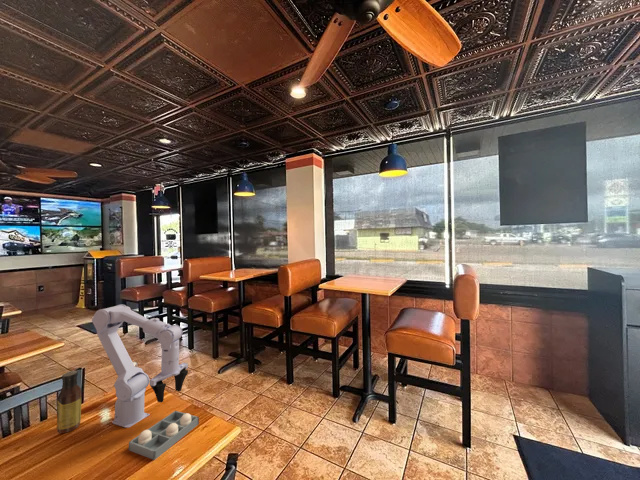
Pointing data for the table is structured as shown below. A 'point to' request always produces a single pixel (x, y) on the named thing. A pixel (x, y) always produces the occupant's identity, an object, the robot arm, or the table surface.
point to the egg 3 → (185, 419)
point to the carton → (162, 436)
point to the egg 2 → (172, 430)
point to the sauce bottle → (69, 403)
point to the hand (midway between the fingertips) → (169, 395)
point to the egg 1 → (144, 437)
